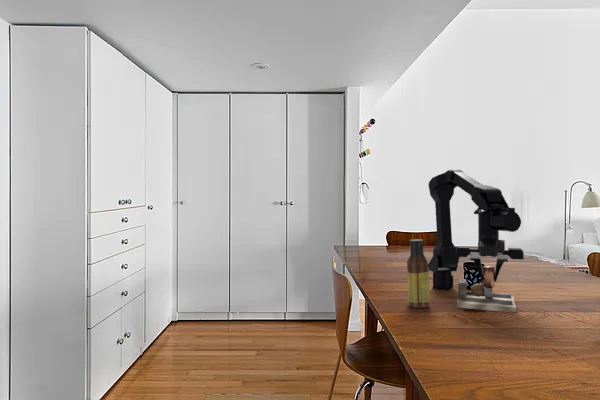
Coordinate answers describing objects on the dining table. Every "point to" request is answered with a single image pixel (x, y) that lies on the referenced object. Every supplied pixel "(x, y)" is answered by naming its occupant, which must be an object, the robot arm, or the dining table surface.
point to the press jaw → (489, 281)
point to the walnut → (477, 290)
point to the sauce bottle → (418, 276)
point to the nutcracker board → (484, 300)
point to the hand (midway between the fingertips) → (488, 281)
